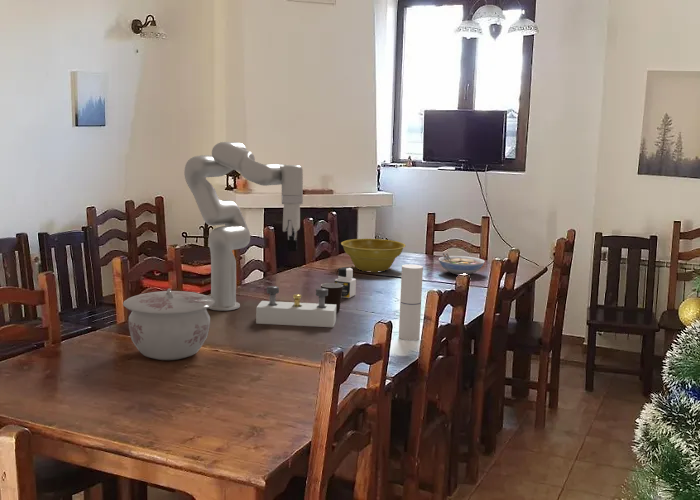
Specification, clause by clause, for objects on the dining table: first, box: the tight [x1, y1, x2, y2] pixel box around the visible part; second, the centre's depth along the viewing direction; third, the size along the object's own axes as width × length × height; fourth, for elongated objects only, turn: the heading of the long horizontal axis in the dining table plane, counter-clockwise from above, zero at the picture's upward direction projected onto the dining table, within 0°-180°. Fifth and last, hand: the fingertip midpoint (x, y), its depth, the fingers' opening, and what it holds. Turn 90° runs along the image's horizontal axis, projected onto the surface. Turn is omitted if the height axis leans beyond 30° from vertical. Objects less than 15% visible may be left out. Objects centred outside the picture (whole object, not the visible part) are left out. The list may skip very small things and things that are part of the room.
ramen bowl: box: [438, 253, 486, 275], centre depth 376 cm, size 25×23×8 cm
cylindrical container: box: [398, 263, 424, 341], centre depth 260 cm, size 7×7×25 cm
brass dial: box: [292, 293, 302, 307], centre depth 276 cm, size 3×3×5 cm
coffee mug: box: [320, 282, 343, 313], centre depth 297 cm, size 12×9×10 cm
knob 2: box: [315, 287, 328, 308], centre depth 276 cm, size 4×4×8 cm
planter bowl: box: [340, 238, 406, 273], centre depth 379 cm, size 32×32×13 cm
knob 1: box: [266, 285, 280, 306], centre depth 277 cm, size 4×4×8 cm
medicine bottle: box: [333, 266, 357, 299], centre depth 321 cm, size 7×7×12 cm
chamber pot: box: [122, 288, 215, 361], centre depth 234 cm, size 28×28×21 cm
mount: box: [255, 300, 337, 328], centre depth 277 cm, size 28×10×6 cm, turn 86°
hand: (292, 250), depth 273 cm, fingers closed
